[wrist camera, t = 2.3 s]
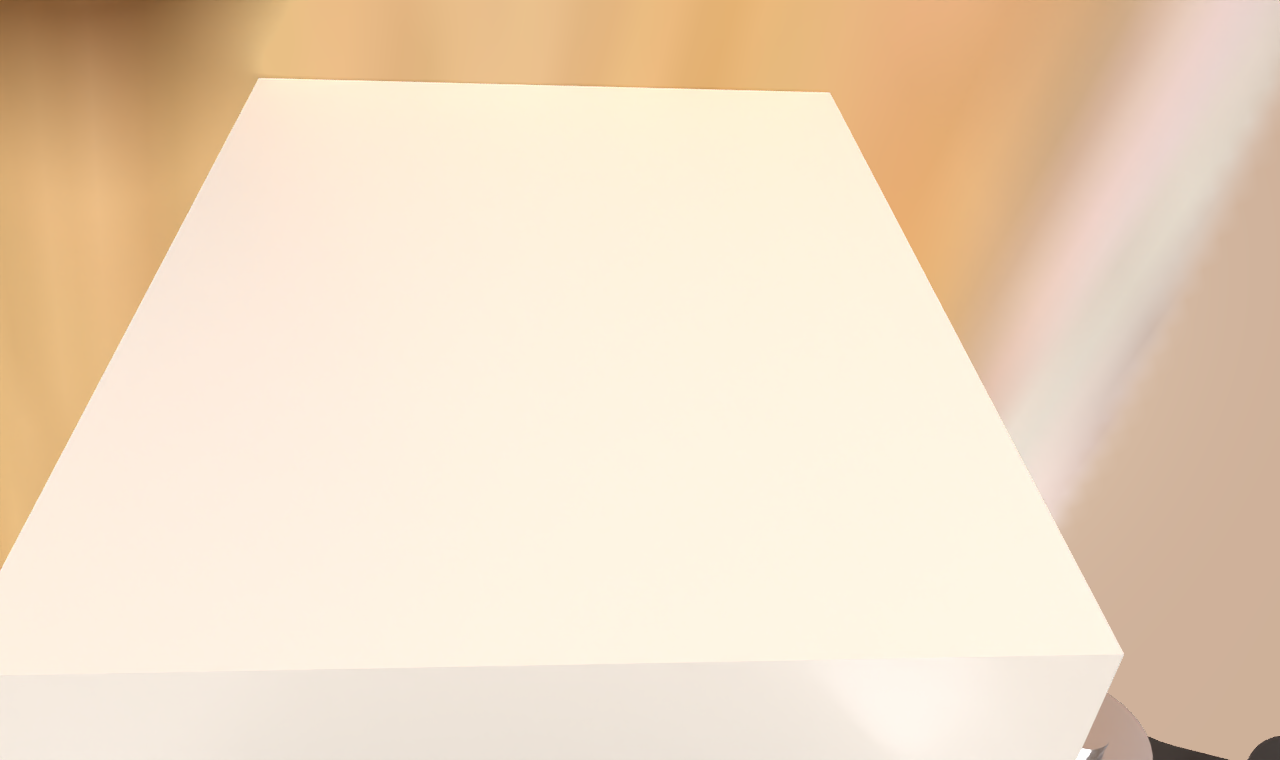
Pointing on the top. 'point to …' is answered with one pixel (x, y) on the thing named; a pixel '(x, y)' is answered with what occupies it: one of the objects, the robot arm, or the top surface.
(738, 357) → the white block
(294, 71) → the top surface
